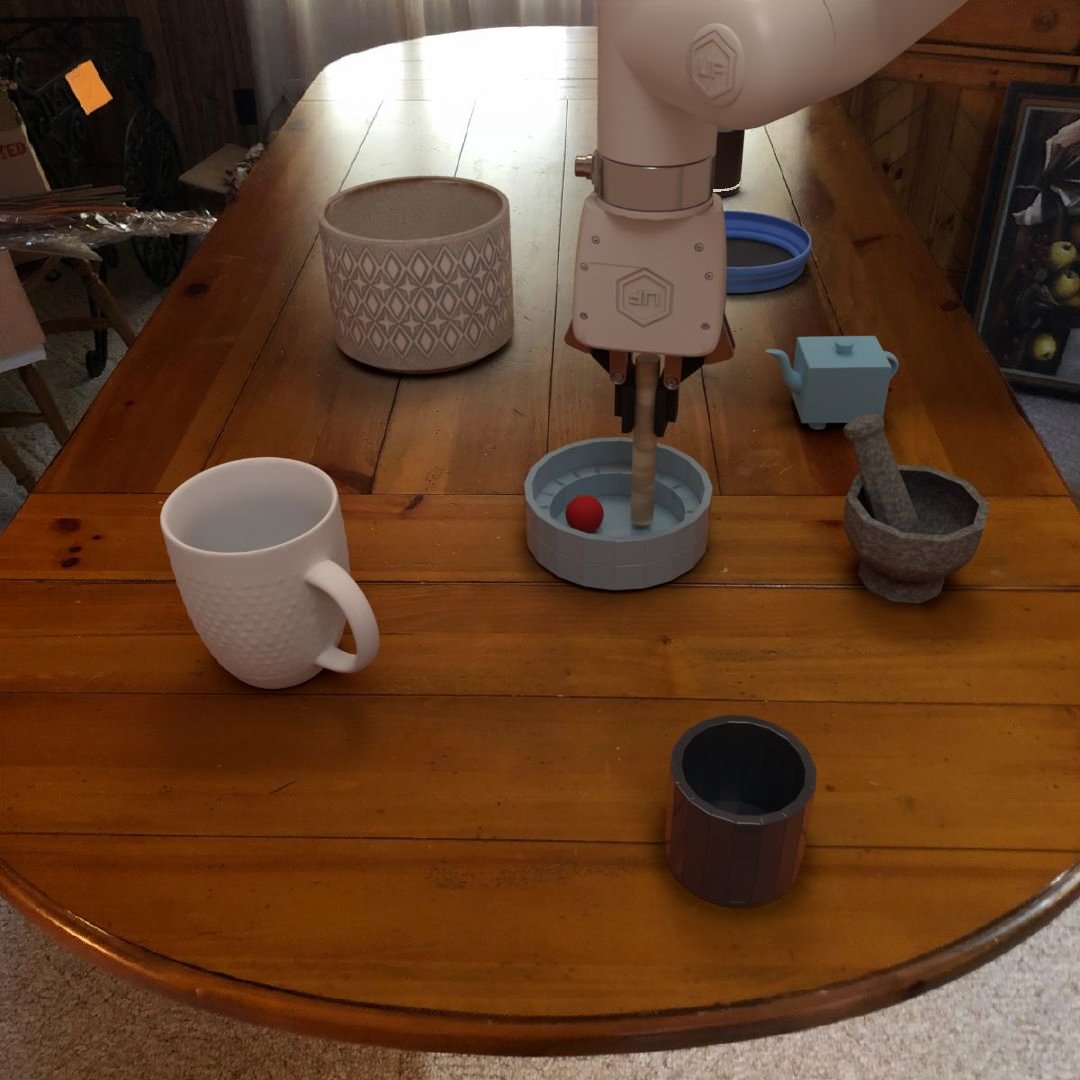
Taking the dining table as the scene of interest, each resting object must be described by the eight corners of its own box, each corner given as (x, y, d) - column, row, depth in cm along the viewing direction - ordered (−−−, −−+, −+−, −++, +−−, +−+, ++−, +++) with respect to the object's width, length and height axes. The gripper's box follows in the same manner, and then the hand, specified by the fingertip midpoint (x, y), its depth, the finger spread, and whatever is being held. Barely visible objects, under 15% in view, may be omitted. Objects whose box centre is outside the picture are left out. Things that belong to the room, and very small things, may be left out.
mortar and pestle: (992, 575, 82) (1031, 437, 75) (931, 637, 76) (966, 494, 69) (858, 517, 88) (882, 384, 81) (793, 570, 83) (813, 433, 76)
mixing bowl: (717, 499, 91) (721, 447, 88) (694, 607, 80) (698, 552, 77) (550, 479, 94) (549, 428, 91) (505, 581, 82) (503, 527, 80)
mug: (437, 664, 75) (421, 508, 68) (324, 764, 68) (291, 603, 60) (285, 587, 82) (254, 438, 75) (168, 671, 75) (120, 516, 68)
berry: (604, 487, 86) (567, 487, 86) (598, 511, 83) (559, 510, 84) (608, 517, 87) (571, 517, 88) (602, 541, 85) (564, 540, 86)
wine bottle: (678, 186, 152) (690, -58, 134) (721, 178, 154) (739, -63, 137) (705, 202, 147) (722, -50, 129) (749, 193, 149) (772, -55, 131)
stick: (654, 514, 87) (662, 353, 79) (651, 527, 85) (659, 364, 77) (632, 511, 87) (637, 351, 79) (628, 524, 86) (633, 362, 77)
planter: (374, 400, 105) (355, 257, 97) (313, 327, 119) (292, 195, 110) (545, 356, 112) (542, 218, 103) (470, 291, 125) (461, 164, 117)
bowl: (800, 238, 136) (804, 210, 134) (815, 299, 121) (819, 268, 119) (654, 236, 137) (655, 208, 135) (652, 296, 123) (653, 266, 121)
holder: (804, 809, 64) (819, 726, 60) (796, 921, 58) (812, 837, 54) (675, 787, 66) (681, 704, 62) (655, 893, 60) (660, 809, 56)
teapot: (762, 432, 99) (771, 357, 94) (753, 399, 104) (761, 326, 99) (897, 431, 99) (911, 355, 94) (881, 397, 103) (894, 324, 99)
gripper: (521, 190, 69) (530, 440, 80) (775, 205, 66) (748, 464, 77) (549, 153, 75) (554, 392, 86) (784, 166, 72) (757, 412, 83)
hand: (645, 424), depth 81 cm, fingers closed on stick, 1 cm apart
